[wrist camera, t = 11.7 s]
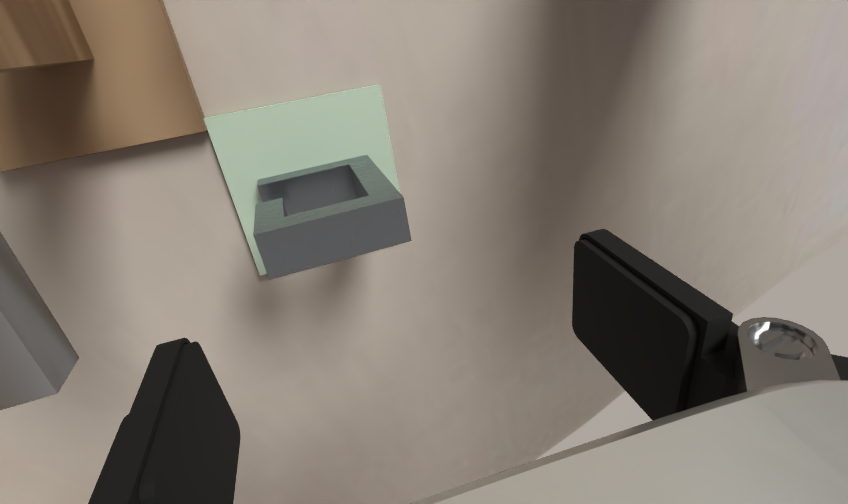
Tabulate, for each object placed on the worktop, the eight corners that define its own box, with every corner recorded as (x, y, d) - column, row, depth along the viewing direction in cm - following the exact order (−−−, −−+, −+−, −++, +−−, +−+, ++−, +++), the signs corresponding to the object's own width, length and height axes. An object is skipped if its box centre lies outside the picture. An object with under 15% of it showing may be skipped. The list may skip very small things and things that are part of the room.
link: (366, 154, 26) (403, 197, 19) (374, 188, 26) (411, 240, 20) (257, 179, 24) (253, 235, 17) (269, 213, 25) (269, 279, 18)
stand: (140, -62, 19) (-67, -226, 7) (234, 201, 25) (202, 351, 13) (-111, -34, 18) (-916, -190, 6) (50, 243, 23) (-185, 463, 11)
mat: (378, 84, 25) (380, 84, 24) (405, 234, 29) (407, 236, 28) (204, 117, 23) (203, 118, 22) (260, 272, 27) (260, 275, 27)
